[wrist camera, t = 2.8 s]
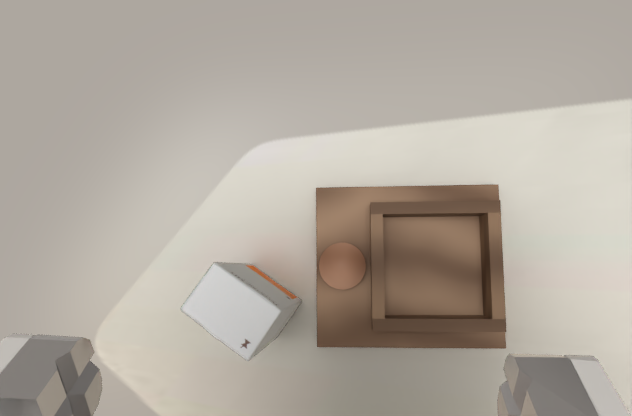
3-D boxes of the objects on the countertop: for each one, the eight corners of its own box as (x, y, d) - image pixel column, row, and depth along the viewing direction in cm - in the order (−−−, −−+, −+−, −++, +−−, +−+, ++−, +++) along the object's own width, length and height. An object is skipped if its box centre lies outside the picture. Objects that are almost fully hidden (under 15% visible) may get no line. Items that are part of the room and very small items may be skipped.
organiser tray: (501, 346, 44) (516, 354, 39) (318, 344, 45) (314, 352, 41) (494, 186, 45) (508, 178, 41) (317, 189, 46) (313, 182, 42)
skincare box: (303, 299, 45) (284, 312, 34) (276, 338, 45) (248, 365, 33) (250, 260, 46) (213, 259, 34) (223, 299, 46) (176, 311, 34)
